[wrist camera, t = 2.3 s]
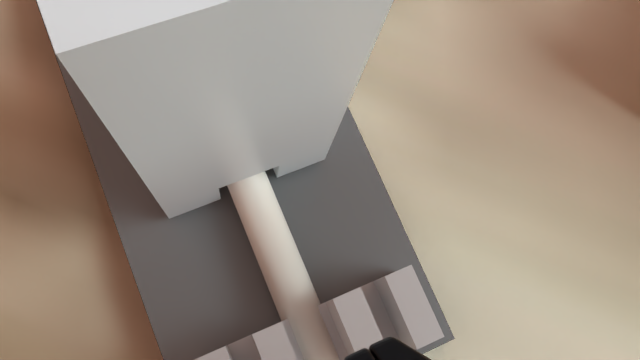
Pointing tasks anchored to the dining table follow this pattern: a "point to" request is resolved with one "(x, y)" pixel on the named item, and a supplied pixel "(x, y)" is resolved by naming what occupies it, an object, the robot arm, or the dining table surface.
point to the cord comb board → (271, 258)
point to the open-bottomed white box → (215, 83)
